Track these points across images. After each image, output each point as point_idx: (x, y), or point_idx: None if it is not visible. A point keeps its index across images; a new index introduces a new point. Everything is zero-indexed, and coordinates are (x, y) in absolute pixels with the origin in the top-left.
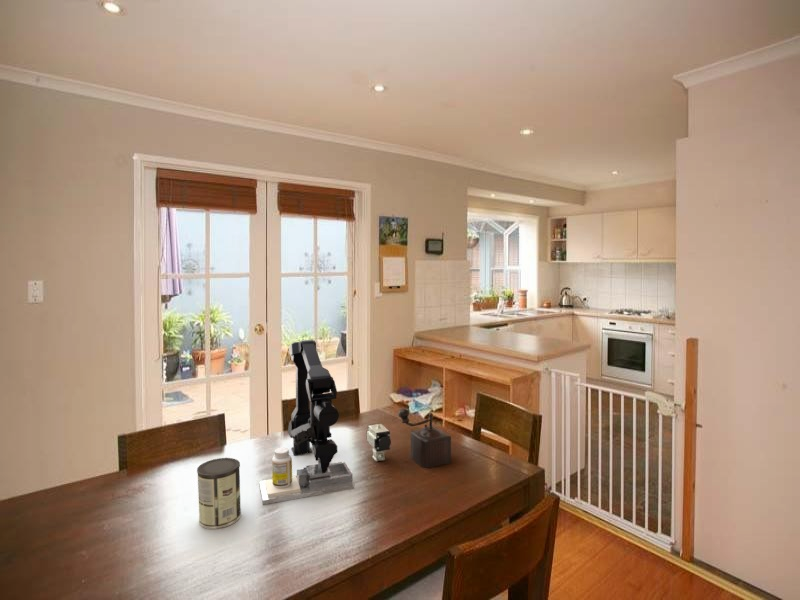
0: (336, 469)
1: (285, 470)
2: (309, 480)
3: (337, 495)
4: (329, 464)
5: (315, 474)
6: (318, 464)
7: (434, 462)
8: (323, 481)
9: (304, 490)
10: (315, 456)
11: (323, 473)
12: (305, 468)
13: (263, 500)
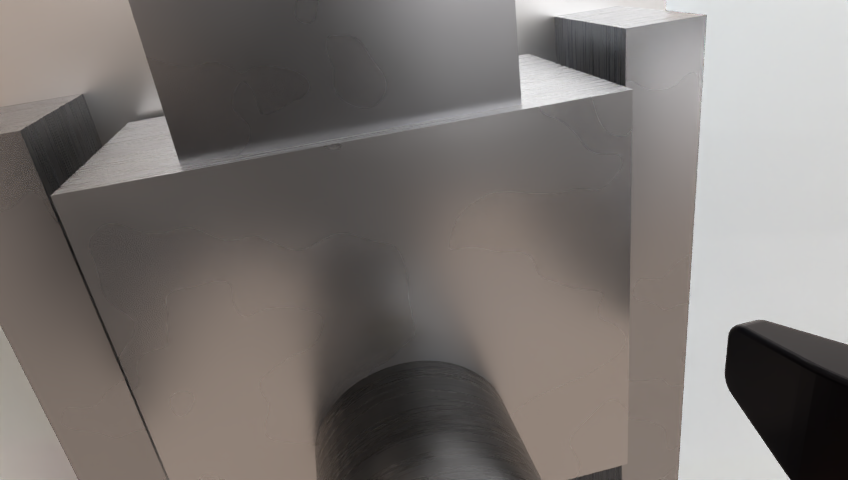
0: (587, 478)
1: None
2: (25, 147)
3: (17, 457)
4: (654, 456)
5: (108, 316)
6: (411, 434)
7: None
8: (54, 398)
9: (16, 7)
10: (809, 377)
11: (165, 462)
12: (657, 58)
13: None
